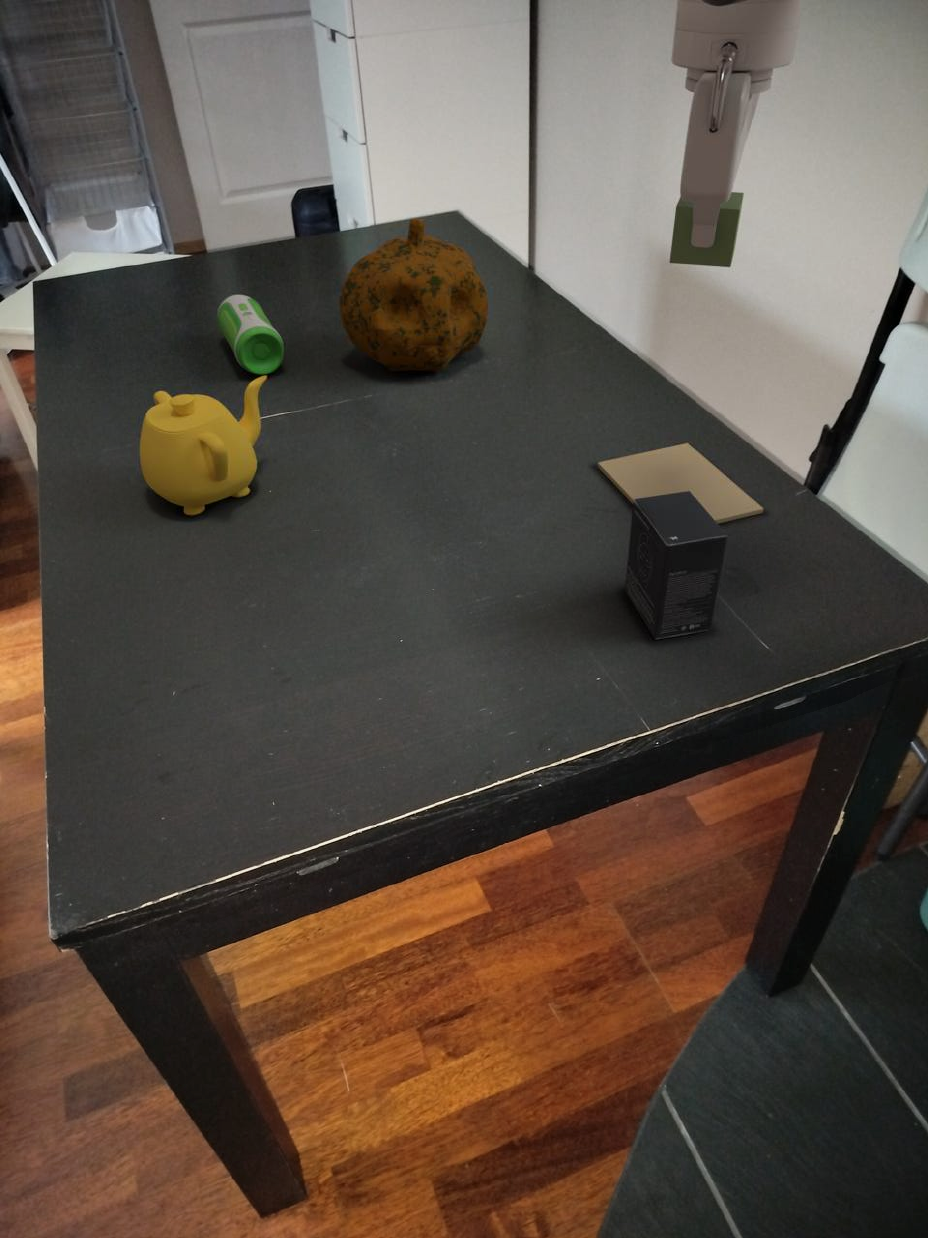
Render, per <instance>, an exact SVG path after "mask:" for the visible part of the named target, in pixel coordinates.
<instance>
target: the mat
mask: <svg viewBox="0 0 928 1238" xmlns="http://www.w3.org/2000/svg"><path fill="white" fill-rule="evenodd" d="M597 468H598V469H599V470H600V471H601V472H602V473H603V474H604V475H605V476H606V477H607V478H608V479H609V481H611V483H612V484H613V485H614V486H615V487H616V488H617V489H618V490H619V492H621V493H622V494H623V496H624V497H625V498H626V499H627V500H628V501H629V502H630V503H631V504H632V505H633V501H634V500H635V499H638V498H645V497H652V496H659V495H665V494H672V493H678V492H686V491H690V492H691V493H692V494H693V495H694V497H695V498H696V499H697V500H698V501H699V502H700V504H701V505H702V506H703V507H704V508H705V509H706V511H707V512H708V513H709V514H710V515H711V517H712V518H713V519H714V520H715V521H716V522H717V524H718V525H719V524H722V523H727V522H731V521H735V520H739V519H743V518H744V519H745V518H747V517H748V518H749V517H752V516H755V515H759V514H763V513H764V507H762V506H761V505H760V504H759V503H758V502H757V501H756V500H754V499H753V498H752V497H751V496H750V495H748V494H747V492H745V491H744V490H743V489H741V487H739V486H738V485H737V484H736V483H735V482H733V481H732V480H731V478H729V477H727V476H726V475H725V473H724V472H722V471H721V470H720V469H718V468H717V467H716V465H714V464H713V463H711V461H709V460H708V459H707V458H706V457H704V455H702V454H701V453H700V452H699V451H698V450H697V449H696V448H694V447H693V446H692V445H691V444H689V442H686V443H680V444H676V445H671V446H667V447H662V448H658V449H653V450H649V451H644V452H639V453H634V454H629V455H626V456H620V457H617V458H612V459H608V460H604V461H599V462H597Z"/></svg>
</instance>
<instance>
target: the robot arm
mask: <svg viewBox="0 0 928 1238" xmlns="http://www.w3.org/2000/svg"><path fill="white" fill-rule="evenodd" d="M804 1H805V0H676V9H675V20H674V30H673V37H672V38H673V40H672V49H671V56H670V63H672V64H673V65H674V66H676V67H679V68H682V69H683V68H684V69H686V74H685V75H686V77H685V81H684V87H685V89H686V90H687V91H689V92H691V93H693V96H692V99H691V105H690V109H689V110H690V111H689V117H688V124H687V130H686V138H685V144H684V153H683V160H682V168H681V174H680V175H681V176H680V185H679V188H680V189H679V195H680V196H681V199H682V201H684V202H688V203H693V229H692V237H691V243H692V245H693V246H694V247H705V248H708V247H711V246H712V245H713V243H714V239H715V234H716V227H717V220H718V216H719V212H720V207H721V204H724V203H726V202H727V201H728V200H729V198H730V195H731V192H733V189H734V185H735V182H736V179H737V176H738V175H737V174H738V171H739V168H740V163H741V161H742V157H743V153H744V151H745V150H744V149H745V146H746V142H747V140H748V137H749V135H750V134H749V133H750V130H751V127H752V124H753V120H754V117H755V112H756V110H757V105H758V101H759V98H760V94H762V93H764V92H765V93H766V92H767V91H769V90H770V88H771V86H772V79H773V78H772V77H773V73H774V70H775V69H779V68H784V67H787V66H789V65H790V64H792V62H793V60H794V55H795V48H796V45H797V39H798V32H799V28H800V24H801V23H800V22H801V17H802V11H803V7H804Z"/></svg>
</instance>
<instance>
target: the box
mask: <svg viewBox="0 0 928 1238" xmlns="http://www.w3.org/2000/svg"><path fill="white" fill-rule="evenodd" d="M728 537H729V536H728V533H726V532H725V531H724V529H723V528H722V527H721V526H720V525H719V524H717V522H716V521H715V520H714V519H713V518H712V517H711V515H710V514H709V513H708V512H707V511H706V509H705V508H704V507H703V506H702V505H701V504H700V502H699V501H698V500H697V499H696V498H695V497H694V495H693V494H692V493H691V492H690V491H686V492H678V493H672V494H665V495H659V496H652V497H645V498H638V499H635V500H634V501H633V504H632V512H631V522H630V533H629V544H628V554H627V555H628V556H627V565H626V576H625V585H624V591H625V594H626V595H627V597H628V598H629V600H630V602H631V604H632V605H633V607H634V608H635V610H636V611H637V613H638V615H639V616H640V618H641V620H642V621H643V623H644V625H645V626H646V627H647V629H648V631H649V632H650V633H651V635H652V637H653V639H654V640H660V639H667V638H668V639H669V638H673V637H680V636H686V635H690V634H696V633H702V632H708V631H710V630H711V628H712V624H713V619H714V613H715V609H716V604H717V597H718V591H719V587H720V582H721V581H720V580H721V575H722V571H723V570H722V569H723V566H724V559H725V555H726V554H725V553H726V548H727V542H728Z"/></svg>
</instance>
